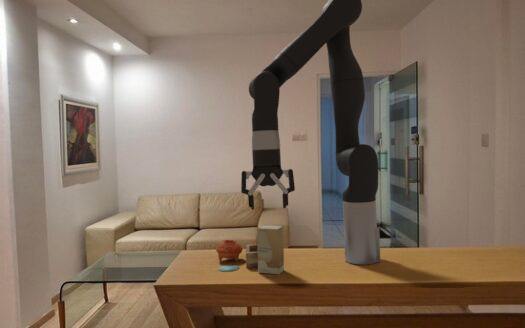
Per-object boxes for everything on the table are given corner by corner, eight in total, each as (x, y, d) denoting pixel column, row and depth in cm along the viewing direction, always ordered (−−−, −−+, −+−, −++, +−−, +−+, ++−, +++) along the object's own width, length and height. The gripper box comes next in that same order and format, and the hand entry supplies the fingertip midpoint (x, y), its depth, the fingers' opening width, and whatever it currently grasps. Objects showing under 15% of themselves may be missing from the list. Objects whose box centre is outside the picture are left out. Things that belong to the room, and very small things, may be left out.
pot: (217, 256, 121) (221, 235, 121) (241, 261, 121) (245, 240, 121) (211, 262, 113) (215, 240, 113) (237, 268, 113) (241, 245, 113)
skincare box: (257, 273, 103) (255, 227, 102) (263, 268, 107) (261, 224, 106) (280, 274, 100) (278, 228, 100) (285, 270, 104) (283, 225, 104)
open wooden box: (273, 257, 118) (272, 243, 118) (274, 266, 108) (273, 251, 108) (247, 258, 118) (246, 244, 118) (246, 268, 108) (245, 253, 108)
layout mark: (239, 264, 111) (239, 264, 111) (238, 271, 105) (238, 270, 105) (219, 265, 111) (219, 265, 111) (216, 272, 105) (216, 271, 105)
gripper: (238, 149, 99) (241, 211, 99) (294, 146, 99) (296, 209, 100) (240, 149, 106) (242, 207, 107) (291, 147, 107) (293, 205, 107)
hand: (268, 208), depth 103 cm, fingers open, 8 cm apart
